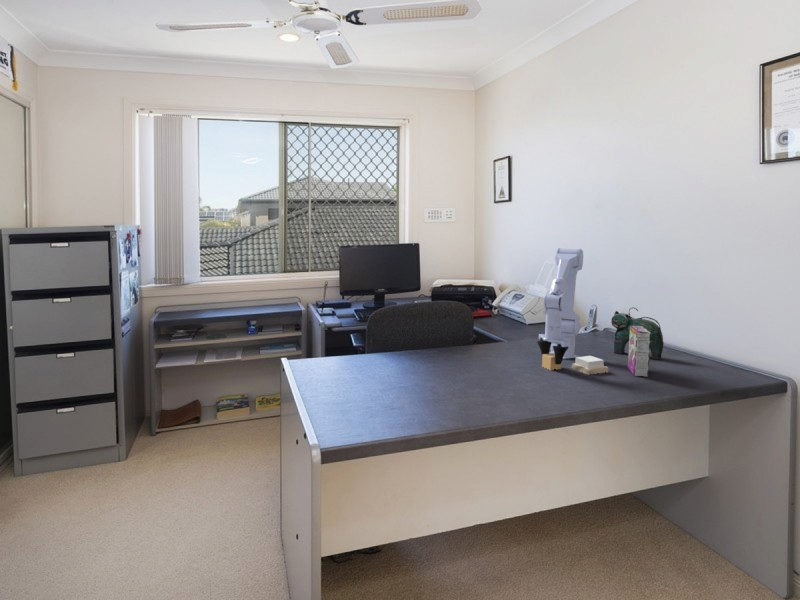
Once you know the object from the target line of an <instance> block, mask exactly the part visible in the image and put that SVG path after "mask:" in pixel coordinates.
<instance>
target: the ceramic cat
mask: <svg viewBox="0 0 800 600" xmlns="http://www.w3.org/2000/svg"><path fill="white" fill-rule="evenodd" d="M632 309H634V310H636V311H637V312H639V310H638V309H637V307H630V308H629V310H628V314H627V313H624V312H621V313H620V312H619V311H618V310H615V312H614V314H613V316H612V317H611V325H612V327H613V328H615V329H616V330H615V333H614V341H613V354H618V355H623V354H624V353H625V349H626V345H627V343H629V333H630V326H643V327H644V328H646V329H647V330H648V331H649V332H650V333H651V335H650V353H651V359H652V360H656V359H659V360H661V359H660V358H662V355H663V349H664V343H665V342H664V335H663V332H662V329H661V325H660V322H659V321H658V320H656V319H655V318H652V317H647V316H643V317H642V316H641V317H637V318H635V317H633V316H631V314H630V311H631V310H632ZM655 322H656V323H655Z"/></svg>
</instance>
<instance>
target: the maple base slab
mask: <svg viewBox="0 0 800 600" xmlns="http://www.w3.org/2000/svg"><path fill="white" fill-rule="evenodd" d="M572 368H573V369H572ZM571 369H572V370H574V369H575V371H577V370H578V371H577V372H580V373H582V372H583V373H582V374H585V375H588V376H590V374H591V375H597V373H599V374H605V372H606V373H609V367H608V366H606V365H603V367H597V368H590V369H588V368H585V367H582V366H580V365H577V364H575V362H574V363H571Z"/></svg>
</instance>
